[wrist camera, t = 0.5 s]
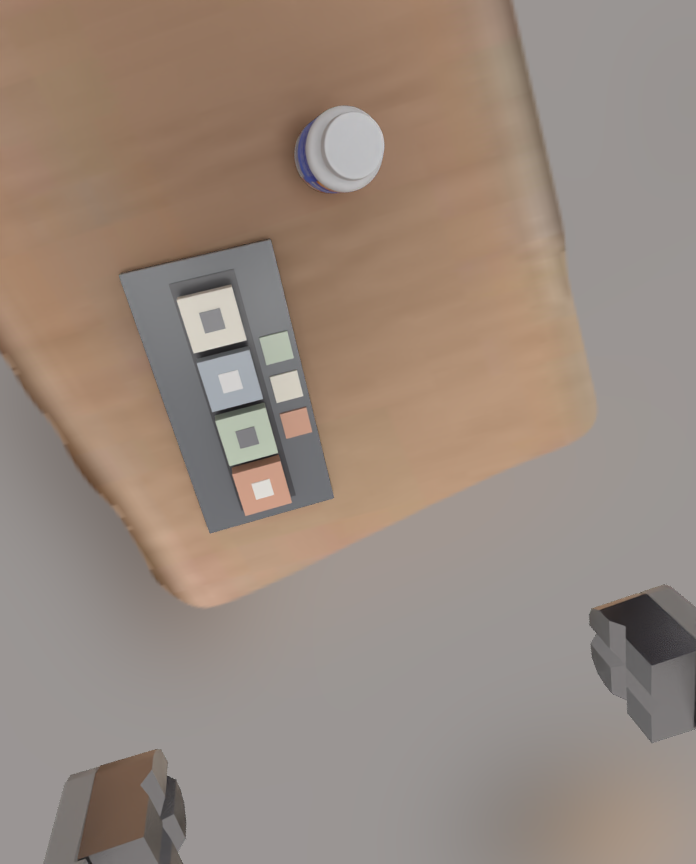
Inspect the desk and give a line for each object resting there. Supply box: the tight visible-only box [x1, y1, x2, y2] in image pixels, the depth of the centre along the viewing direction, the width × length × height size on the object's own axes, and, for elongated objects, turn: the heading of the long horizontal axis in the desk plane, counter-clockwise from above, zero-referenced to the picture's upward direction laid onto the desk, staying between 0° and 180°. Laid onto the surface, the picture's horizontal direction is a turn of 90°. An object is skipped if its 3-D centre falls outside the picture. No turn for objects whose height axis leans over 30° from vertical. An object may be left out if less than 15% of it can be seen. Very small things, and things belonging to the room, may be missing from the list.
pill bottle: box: [294, 106, 384, 193], centre depth 42 cm, size 5×5×10 cm
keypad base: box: [119, 239, 334, 533], centre depth 52 cm, size 24×12×2 cm, turn 12°
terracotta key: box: [232, 455, 292, 516], centre depth 52 cm, size 4×4×2 cm
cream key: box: [177, 285, 247, 353], centre depth 46 cm, size 4×4×2 cm
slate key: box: [197, 346, 263, 412], centre depth 48 cm, size 4×4×2 cm
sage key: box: [215, 403, 278, 466], centre depth 50 cm, size 4×4×2 cm
